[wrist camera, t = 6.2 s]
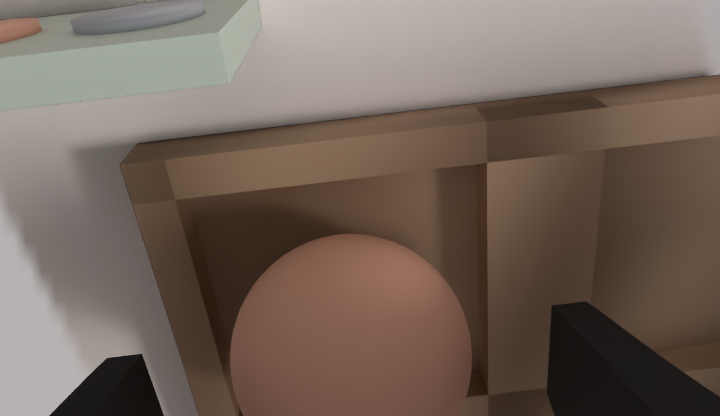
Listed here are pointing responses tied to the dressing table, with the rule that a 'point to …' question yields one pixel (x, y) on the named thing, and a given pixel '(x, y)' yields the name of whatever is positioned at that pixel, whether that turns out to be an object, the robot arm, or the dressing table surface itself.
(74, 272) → the dressing table surface
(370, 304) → the terracotta ball
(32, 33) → the card
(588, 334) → the robot arm
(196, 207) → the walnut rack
